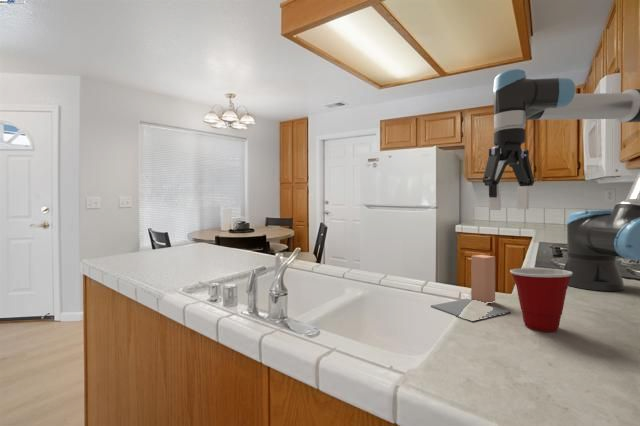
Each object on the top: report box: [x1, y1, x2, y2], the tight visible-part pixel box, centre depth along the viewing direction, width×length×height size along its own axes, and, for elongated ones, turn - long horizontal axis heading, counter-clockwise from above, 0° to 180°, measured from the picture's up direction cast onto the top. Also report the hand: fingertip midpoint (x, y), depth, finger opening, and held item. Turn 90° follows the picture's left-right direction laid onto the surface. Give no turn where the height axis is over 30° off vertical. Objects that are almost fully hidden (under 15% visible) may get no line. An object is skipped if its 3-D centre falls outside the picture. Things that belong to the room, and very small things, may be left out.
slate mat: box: [430, 298, 511, 319], centre depth 79 cm, size 13×12×1 cm
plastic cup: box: [509, 267, 572, 333], centre depth 68 cm, size 11×11×12 cm
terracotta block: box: [470, 254, 496, 303], centre depth 86 cm, size 4×4×12 cm
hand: (509, 209), depth 90 cm, fingers open, 11 cm apart
